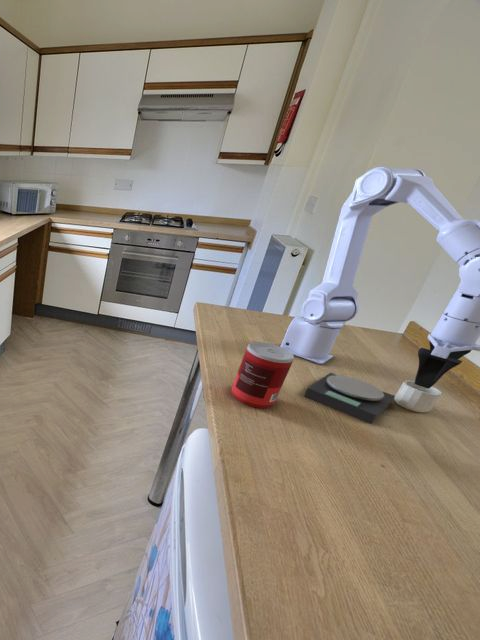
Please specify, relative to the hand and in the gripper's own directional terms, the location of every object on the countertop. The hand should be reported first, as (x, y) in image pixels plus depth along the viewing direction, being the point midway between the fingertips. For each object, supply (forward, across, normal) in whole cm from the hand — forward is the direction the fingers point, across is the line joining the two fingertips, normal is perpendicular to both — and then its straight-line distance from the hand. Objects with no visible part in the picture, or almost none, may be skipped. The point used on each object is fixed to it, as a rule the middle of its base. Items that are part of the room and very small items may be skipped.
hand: (426, 380), depth 81 cm
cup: (+6, 0, 0) cm, 6 cm away
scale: (+6, -10, +8) cm, 14 cm away
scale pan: (+4, -9, +8) cm, 12 cm away
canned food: (+6, -27, +19) cm, 34 cm away
